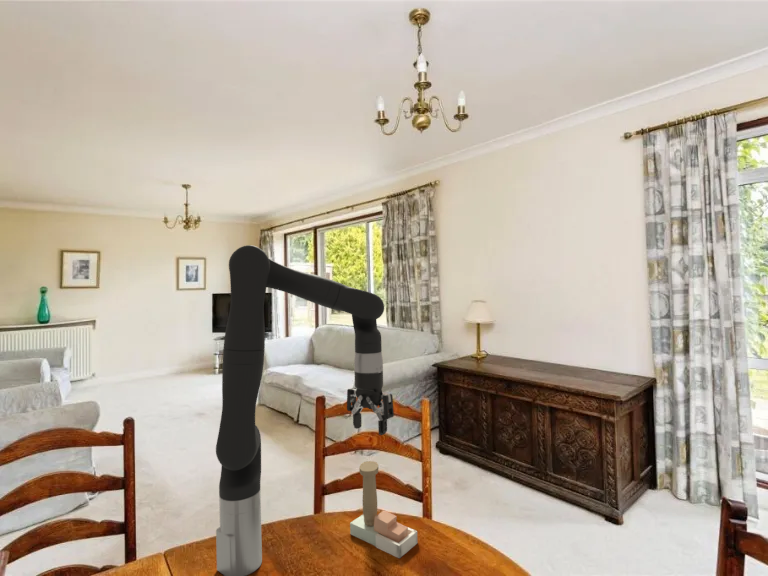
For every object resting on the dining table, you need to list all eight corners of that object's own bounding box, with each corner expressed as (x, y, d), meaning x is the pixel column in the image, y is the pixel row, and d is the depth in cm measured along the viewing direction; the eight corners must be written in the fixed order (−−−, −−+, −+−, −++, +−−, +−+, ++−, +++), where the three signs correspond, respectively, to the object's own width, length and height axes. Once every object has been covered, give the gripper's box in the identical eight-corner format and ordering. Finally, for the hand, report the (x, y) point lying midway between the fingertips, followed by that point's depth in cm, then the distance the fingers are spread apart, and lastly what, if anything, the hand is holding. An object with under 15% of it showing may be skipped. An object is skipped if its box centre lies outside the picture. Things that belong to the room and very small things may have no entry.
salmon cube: (386, 544, 103) (397, 551, 101) (387, 529, 103) (398, 535, 101) (395, 537, 106) (406, 542, 104) (396, 521, 106) (407, 527, 104)
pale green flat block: (376, 546, 103) (376, 534, 104) (350, 534, 109) (350, 522, 109) (391, 535, 108) (390, 523, 108) (365, 524, 114) (365, 513, 114)
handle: (359, 530, 105) (358, 471, 106) (363, 517, 112) (361, 461, 112) (378, 530, 105) (376, 471, 105) (380, 517, 111) (379, 461, 112)
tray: (399, 558, 99) (399, 545, 99) (375, 547, 103) (375, 535, 103) (417, 543, 104) (417, 531, 105) (394, 533, 109) (394, 521, 109)
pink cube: (386, 537, 103) (387, 523, 103) (373, 530, 105) (374, 517, 105) (395, 529, 106) (396, 516, 106) (383, 523, 108) (384, 510, 108)
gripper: (339, 368, 111) (340, 429, 110) (380, 374, 102) (381, 440, 101) (358, 364, 116) (359, 422, 116) (398, 369, 108) (400, 432, 107)
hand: (369, 430), depth 109 cm, fingers open, 8 cm apart
